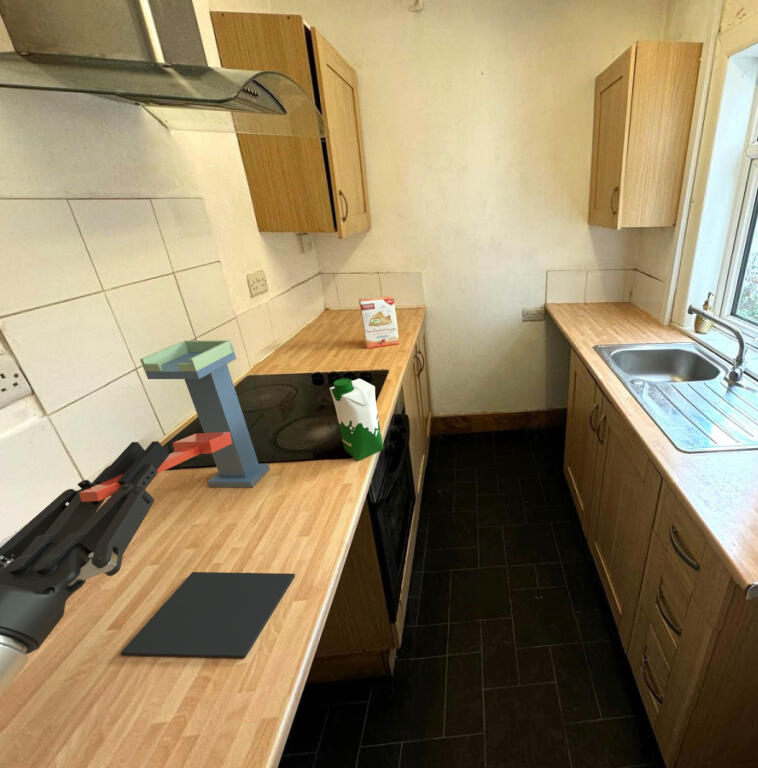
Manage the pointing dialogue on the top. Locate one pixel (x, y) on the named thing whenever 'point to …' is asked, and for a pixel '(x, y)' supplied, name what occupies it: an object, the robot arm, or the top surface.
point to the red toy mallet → (166, 461)
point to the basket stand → (212, 404)
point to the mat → (212, 616)
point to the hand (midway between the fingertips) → (150, 448)
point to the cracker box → (379, 321)
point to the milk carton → (357, 417)
